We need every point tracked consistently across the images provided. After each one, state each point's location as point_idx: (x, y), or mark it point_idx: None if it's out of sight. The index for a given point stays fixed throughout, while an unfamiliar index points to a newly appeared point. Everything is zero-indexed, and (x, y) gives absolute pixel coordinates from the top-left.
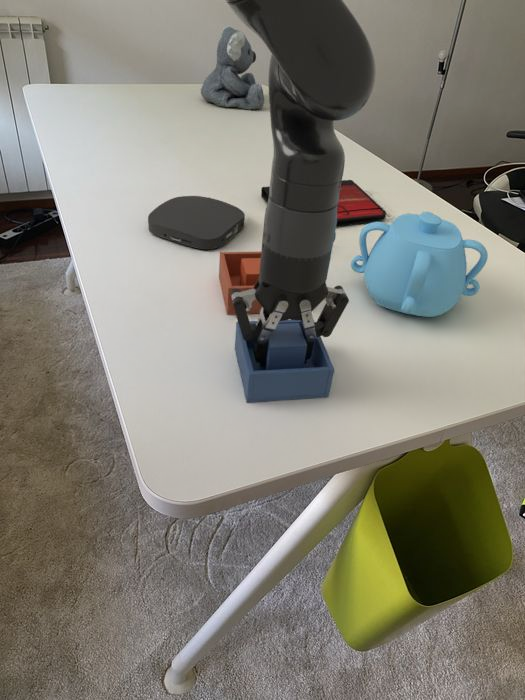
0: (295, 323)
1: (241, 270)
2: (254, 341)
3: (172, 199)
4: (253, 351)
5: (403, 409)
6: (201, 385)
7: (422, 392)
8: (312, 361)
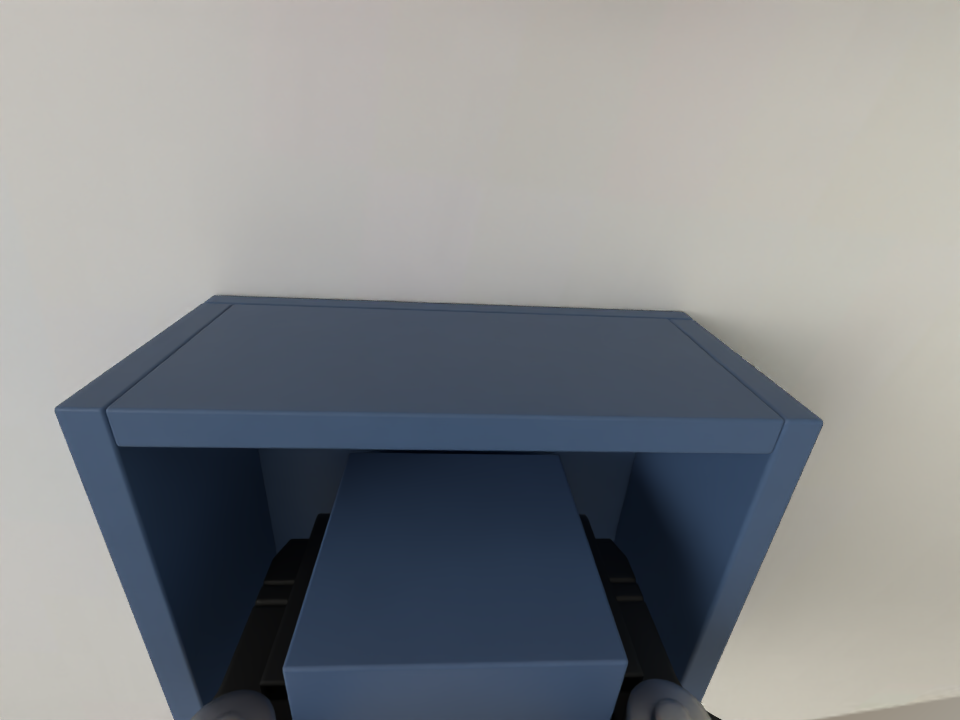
0: (594, 669)
1: None
2: (237, 649)
3: None
4: (271, 562)
5: (827, 661)
6: (62, 531)
7: (956, 610)
8: (632, 474)
